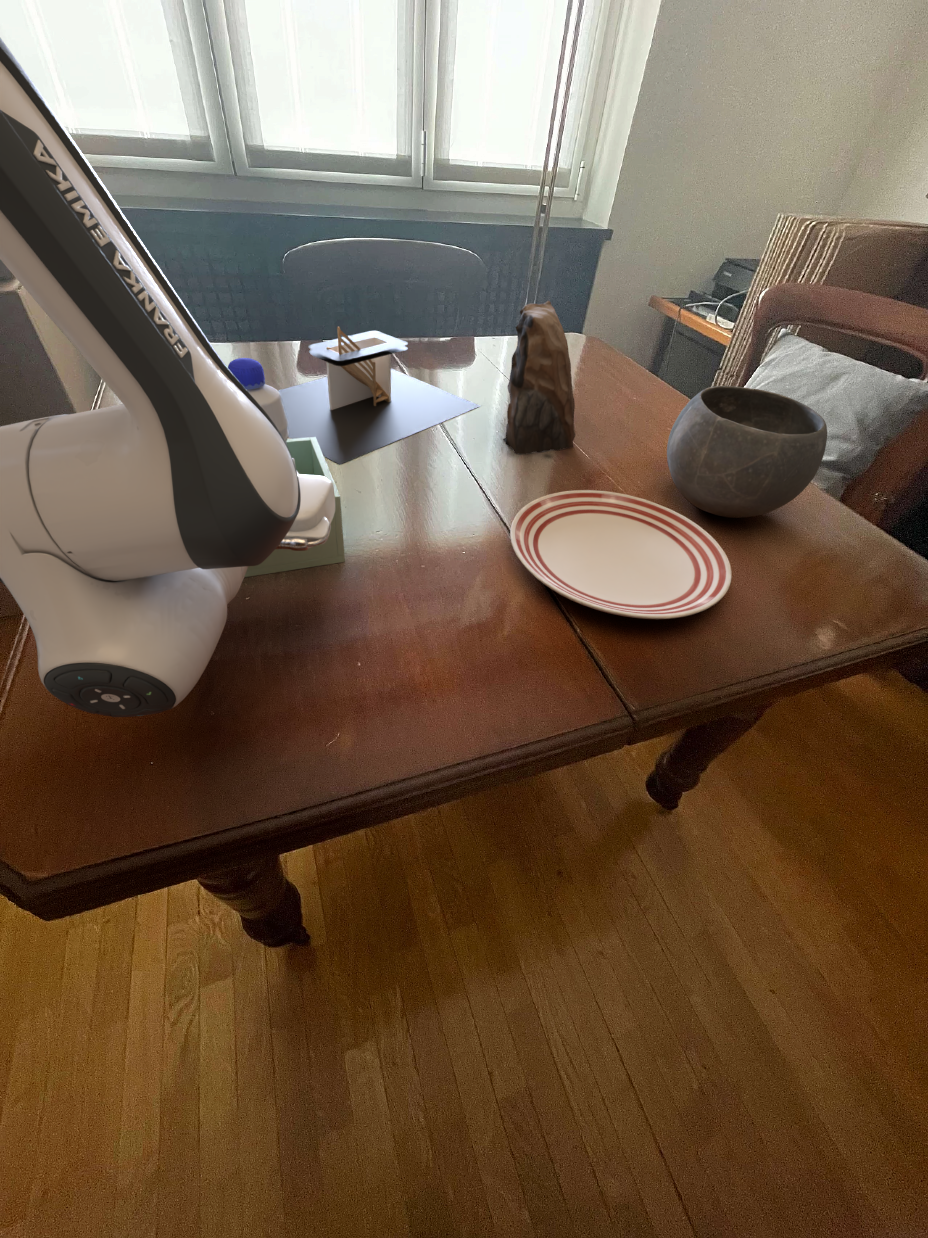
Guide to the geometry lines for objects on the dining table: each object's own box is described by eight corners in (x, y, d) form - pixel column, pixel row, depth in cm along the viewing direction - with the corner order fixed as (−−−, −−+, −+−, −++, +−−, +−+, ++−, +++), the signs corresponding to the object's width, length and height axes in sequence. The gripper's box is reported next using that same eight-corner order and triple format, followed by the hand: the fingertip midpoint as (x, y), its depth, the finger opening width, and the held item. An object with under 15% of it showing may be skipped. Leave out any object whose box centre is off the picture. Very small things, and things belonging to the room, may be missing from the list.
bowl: (774, 486, 90) (824, 395, 80) (795, 555, 76) (859, 455, 65) (651, 460, 93) (684, 369, 83) (648, 522, 78) (687, 421, 68)
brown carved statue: (512, 457, 89) (534, 323, 75) (478, 424, 97) (492, 298, 83) (576, 448, 94) (607, 320, 80) (538, 417, 102) (560, 296, 88)
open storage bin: (214, 582, 61) (194, 513, 55) (207, 512, 70) (189, 446, 64) (345, 561, 65) (340, 496, 59) (321, 498, 75) (315, 436, 69)
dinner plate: (475, 517, 75) (478, 496, 73) (640, 496, 84) (647, 476, 81) (571, 660, 57) (578, 638, 55) (768, 614, 66) (782, 593, 63)
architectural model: (339, 464, 82) (332, 366, 72) (229, 404, 94) (210, 312, 84) (481, 405, 103) (490, 323, 94) (376, 362, 115) (375, 285, 105)
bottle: (244, 517, 68) (207, 348, 55) (299, 512, 70) (277, 348, 57) (245, 548, 64) (206, 372, 50) (304, 542, 66) (281, 371, 52)
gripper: (322, 517, 43) (343, 438, 53) (45, 501, 41) (122, 422, 51) (328, 579, 47) (347, 495, 57) (78, 567, 45) (143, 483, 55)
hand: (239, 460), depth 54 cm, fingers open, 8 cm apart
